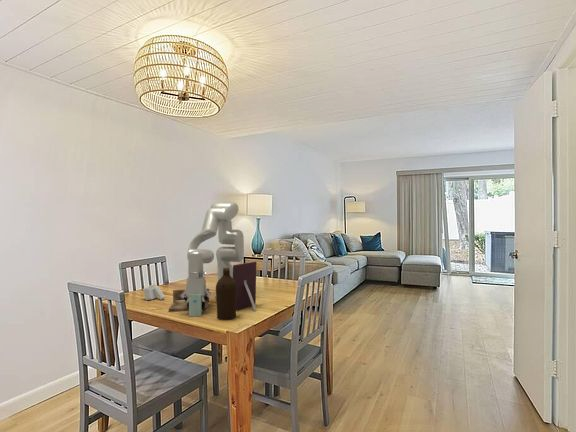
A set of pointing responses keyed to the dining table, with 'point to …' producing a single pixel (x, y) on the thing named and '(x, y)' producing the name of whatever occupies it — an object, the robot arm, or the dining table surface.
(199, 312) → the grey-green rectangular block
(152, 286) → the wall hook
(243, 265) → the picture frame
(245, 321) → the dining table surface
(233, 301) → the olive oil
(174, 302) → the board
